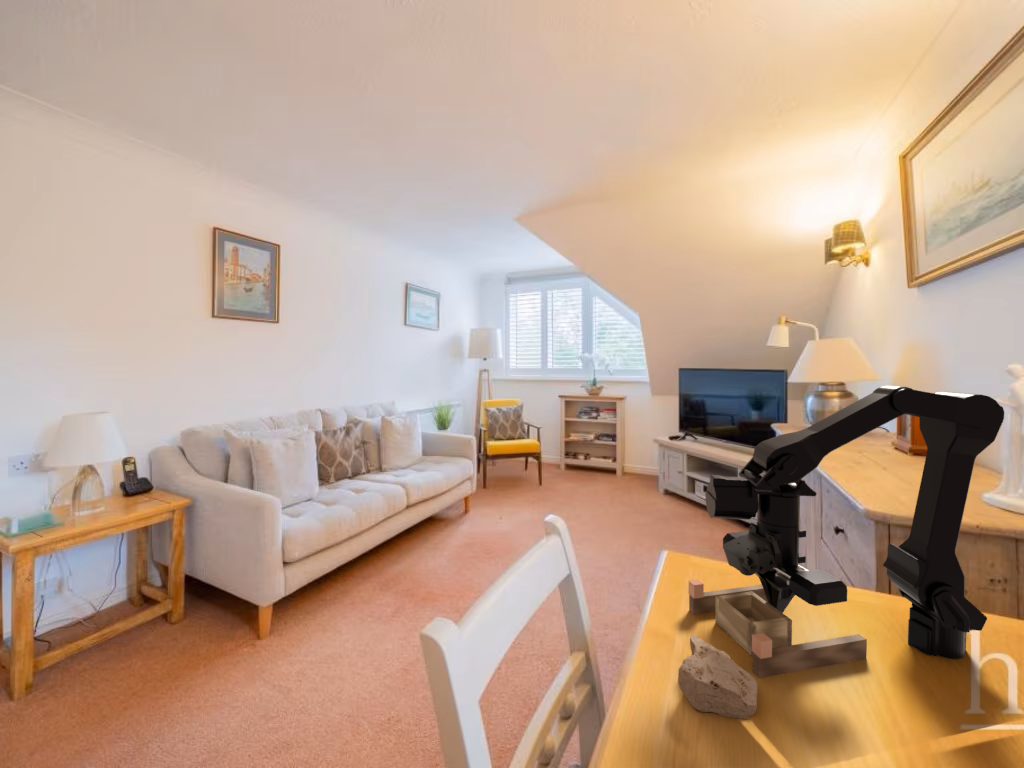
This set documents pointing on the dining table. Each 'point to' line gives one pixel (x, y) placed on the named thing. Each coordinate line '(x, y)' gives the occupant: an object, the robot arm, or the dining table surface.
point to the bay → (788, 656)
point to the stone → (717, 682)
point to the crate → (752, 620)
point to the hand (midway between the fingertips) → (776, 614)
